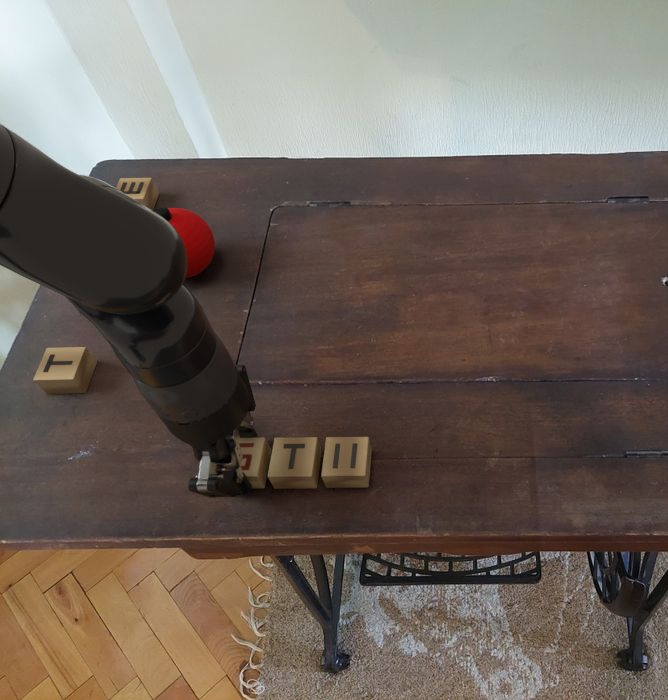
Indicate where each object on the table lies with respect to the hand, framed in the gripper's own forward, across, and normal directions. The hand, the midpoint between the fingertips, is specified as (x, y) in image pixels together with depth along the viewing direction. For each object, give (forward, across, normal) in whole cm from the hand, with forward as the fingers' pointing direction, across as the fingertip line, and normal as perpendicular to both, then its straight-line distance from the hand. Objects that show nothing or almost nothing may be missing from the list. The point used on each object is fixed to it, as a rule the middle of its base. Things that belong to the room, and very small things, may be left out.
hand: (246, 467), depth 69 cm
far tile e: (0, -42, -23) cm, 48 cm away
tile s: (0, 0, 0) cm, 0 cm away
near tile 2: (0, 0, +6) cm, 6 cm away
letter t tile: (0, -12, -23) cm, 26 cm away
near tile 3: (0, 0, +11) cm, 11 cm away
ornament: (+1, -30, -13) cm, 32 cm away
